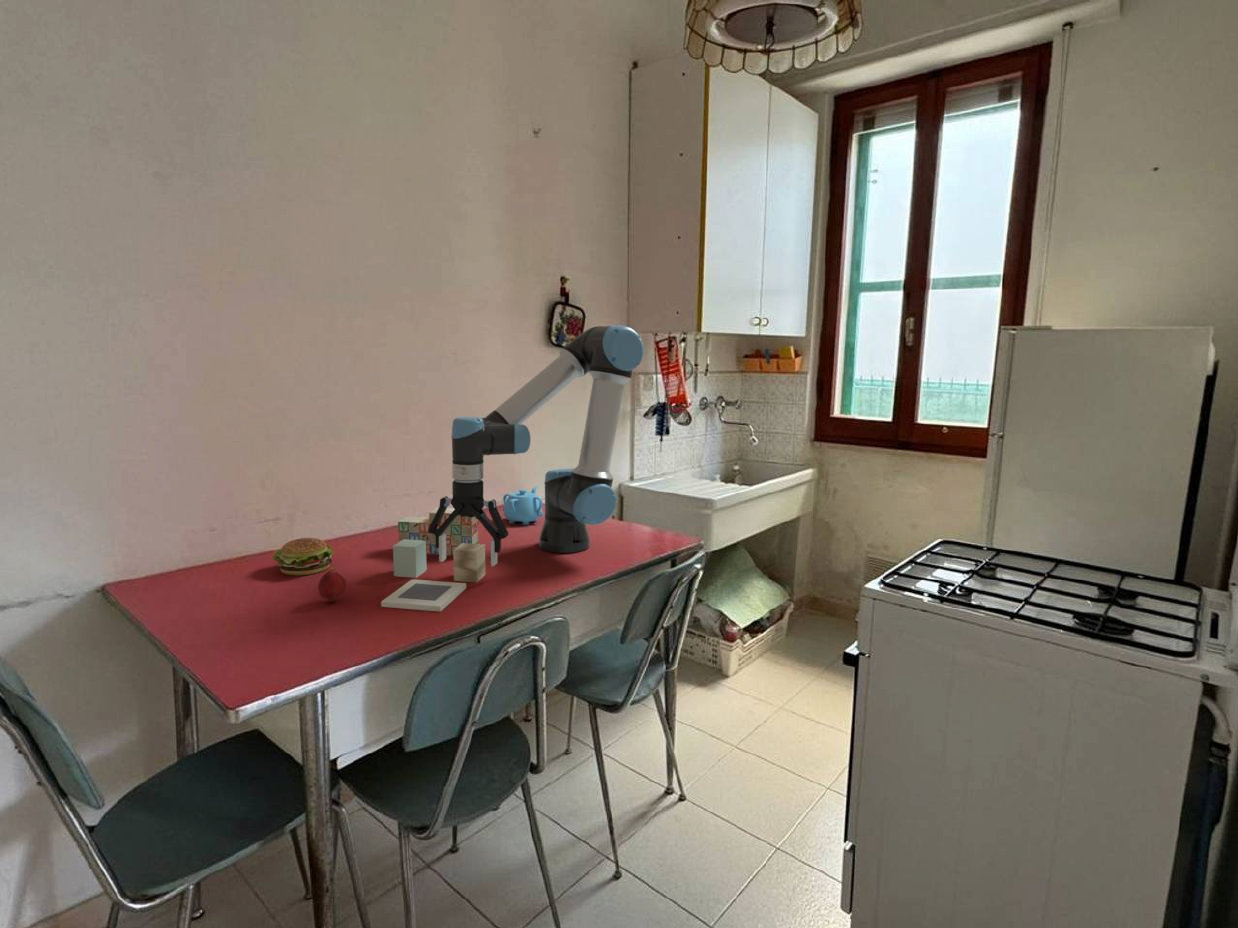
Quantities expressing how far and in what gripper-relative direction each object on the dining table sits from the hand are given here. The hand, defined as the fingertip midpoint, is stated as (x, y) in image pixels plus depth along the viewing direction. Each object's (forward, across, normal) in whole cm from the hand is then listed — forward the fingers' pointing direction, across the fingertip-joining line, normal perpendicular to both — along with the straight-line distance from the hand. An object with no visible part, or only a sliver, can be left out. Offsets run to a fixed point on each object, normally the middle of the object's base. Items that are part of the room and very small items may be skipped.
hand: (468, 562), depth 169 cm
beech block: (+4, 0, 0) cm, 4 cm away
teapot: (+4, -3, +57) cm, 57 cm away
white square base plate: (+4, -5, -15) cm, 16 cm away
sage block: (+4, -16, 0) cm, 16 cm away
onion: (+5, -24, -22) cm, 32 cm away
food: (+5, -44, -3) cm, 44 cm away
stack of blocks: (+4, -16, +19) cm, 26 cm away
